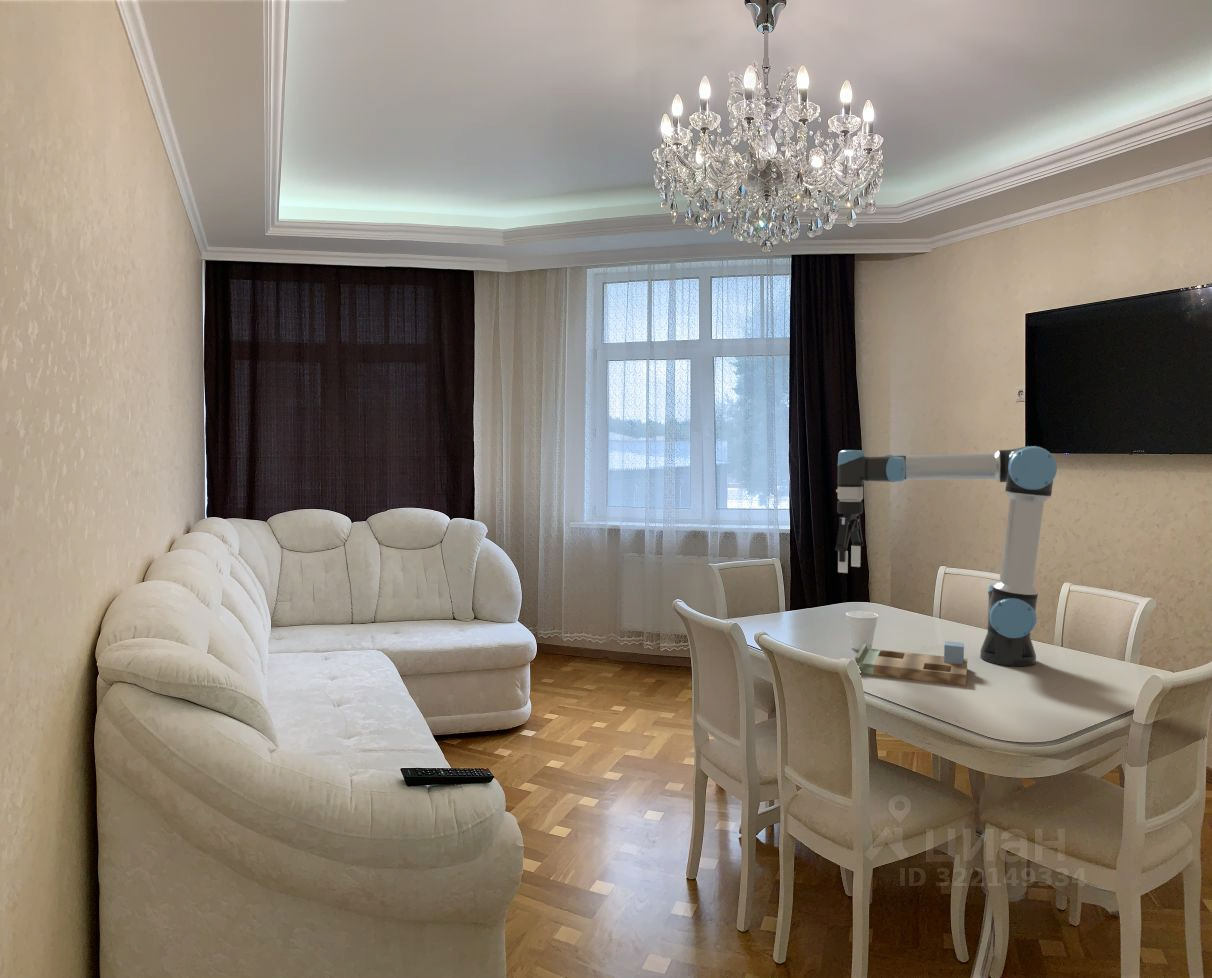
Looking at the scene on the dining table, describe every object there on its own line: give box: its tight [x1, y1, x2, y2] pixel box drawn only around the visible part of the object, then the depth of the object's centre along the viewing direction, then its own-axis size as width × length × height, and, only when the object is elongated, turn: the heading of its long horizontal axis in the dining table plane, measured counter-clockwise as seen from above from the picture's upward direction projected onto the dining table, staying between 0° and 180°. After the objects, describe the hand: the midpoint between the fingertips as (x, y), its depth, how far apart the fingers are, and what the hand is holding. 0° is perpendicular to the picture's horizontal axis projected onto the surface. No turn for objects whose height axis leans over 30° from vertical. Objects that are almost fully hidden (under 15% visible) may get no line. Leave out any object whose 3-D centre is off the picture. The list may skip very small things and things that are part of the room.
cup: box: [845, 610, 879, 651], centre depth 262 cm, size 10×10×11 cm
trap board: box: [854, 643, 968, 687], centre depth 237 cm, size 29×18×4 cm, turn 66°
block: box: [943, 640, 965, 664], centre depth 237 cm, size 5×5×5 cm
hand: (849, 569), depth 254 cm, fingers open, 13 cm apart
